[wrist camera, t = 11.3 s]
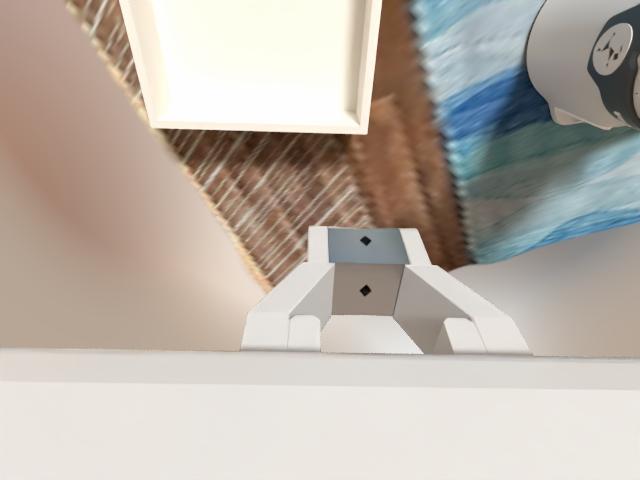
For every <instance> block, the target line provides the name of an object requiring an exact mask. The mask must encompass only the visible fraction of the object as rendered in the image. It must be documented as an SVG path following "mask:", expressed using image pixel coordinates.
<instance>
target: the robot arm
mask: <svg viewBox="0 0 640 480" xmlns="http://www.w3.org/2000/svg"><path fill="white" fill-rule="evenodd" d="M527 69H528V74H529V77H530V80H531V82H532V84H533V86H534V87H535V89H536V90H537V91H538V92H539V93H540V94H541V95H542V96H543V97H544V98H545V99H546V101H547V102H548V104H549V108H550V113H551V116H552V119H553V120H554V122H556V123H558V124H560V125H571V124H577V123H583V122H586V123H589V124H591V125H593V126H596V127H598V128H600V129H604V130H610V129H611V128H612V127H622V126H629V127H631V128H633V129H635V130H638V131H640V0H547V1H546V2H545V4H544V6H543V7H542V9H541V11H540V13H539V14H538V16H537V19H536V21H535V23H534V25H533V28H532V31H531V34H530V38H529V42H528V47H527ZM331 315H378V316H380V315H381V316H393V318H394V319H395V320H396V322H397V323H398V324H399V325H400V326H401V327H402V328H403V330H404V331H405V332H406V333H407V334H408V335H409V336H410V338H411V339H412V340H413V341H414V342H415V343H416V345H417V346H418V347H419V348H420V349H421V350H422V352H423V353H424V354H385V353H384V354H383V353H321V342H320V341H321V339H320V338H321V337H320V332H321V331H322V329H323V328H324V326H325V325H326V323H327V322H328V321H329V319H330V318H331ZM0 480H640V358H630V357H628V358H627V357H624V358H623V357H558V356H556V357H554V356H533V354H532V352H531V350H530V349H529V347H528V345H527V343H526V341H525V340H524V338H523V336H522V334H521V332H520V331H519V329H518V327H517V325H516V324H515V322H514V320H513V318H512V317H510V316H508V315H507V314H506V313H504V312H503V311H502V310H500V309H498V308H497V307H496V306H494V305H493V304H492V303H490V302H489V301H487V300H486V299H484V298H483V297H482V296H480V295H479V294H477V293H476V292H474V291H473V290H472V289H470V288H469V287H467V286H466V285H464V284H463V283H461V282H460V281H459V280H457V279H456V278H454V277H453V276H452V275H450V274H449V273H447V272H446V271H444V270H443V269H442V268H440V267H439V266H437V265H432V264H431V262H430V259H429V257H428V254H427V252H426V249H425V247H424V244H423V242H422V239H421V237H420V234H419V232H418V230H417V229H416V228H398V229H369V228H352V227H330V226H328V227H327V226H309V228H308V255H307V262H302V263H301V264H300V265H299V266H298V267H296V268H295V269H294V270H293V271H292V272H291V273H290V274H289V275H288V276H287V277H286V278H285V279H284V280H282V281H281V282H280V283H279V284H278V285H277V286H276V287H275V288H274V289H273V290H272V291H271V292H269V293H268V294H267V295H266V296H265V297H264V298H263V299H262V300H261V301H260V302H259V303H258V304H256V306H254V307H253V308H252V309H251V310H250V311H249V312H248V314H247V319H246V323H245V328H244V333H243V337H242V342H241V347H240V351H197V350H196V351H195V350H191V351H190V350H135V349H132V350H131V349H76V348H75V349H73V348H72V349H71V348H17V347H16V348H15V347H0Z"/></svg>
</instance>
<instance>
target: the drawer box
mask: <svg viewBox="0 0 640 480" xmlns="http://www.w3.org/2000/svg"><path fill="white" fill-rule="evenodd" d="M119 2H120V6H121V10H122V14H123V18H124V22H125V26H126V30H127V34H128V38H129V42H130V46H131V50H132V54H133V58H134V62H135V66H136V70H137V74H138V78H139V82H140V86H141V90H142V94H143V98H144V102H145V106H146V110H147V114H148V118H149V122H150V126H151V128H168V129H202V130H235V131H269V132H303V133H336V134H367V131H368V122H369V113H370V104H371V95H372V86H373V77H374V68H375V59H376V50H377V41H378V32H379V23H380V14H381V5H382V0H119Z"/></svg>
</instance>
